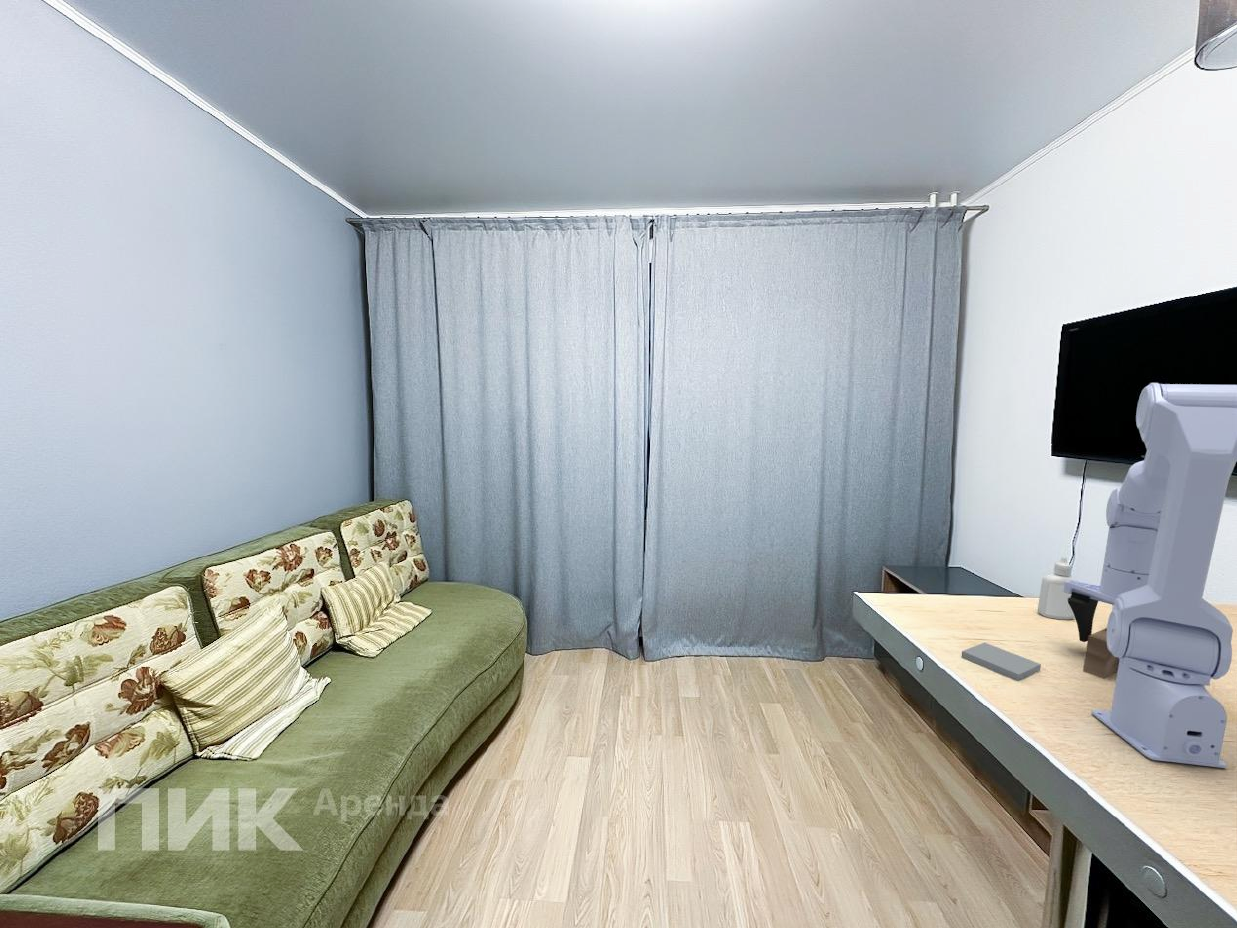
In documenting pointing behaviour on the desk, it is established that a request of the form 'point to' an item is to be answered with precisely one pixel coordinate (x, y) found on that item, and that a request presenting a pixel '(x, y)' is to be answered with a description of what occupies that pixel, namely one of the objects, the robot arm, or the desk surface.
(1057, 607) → the eye dropper bottle
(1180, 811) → the desk surface
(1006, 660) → the tile
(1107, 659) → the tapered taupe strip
